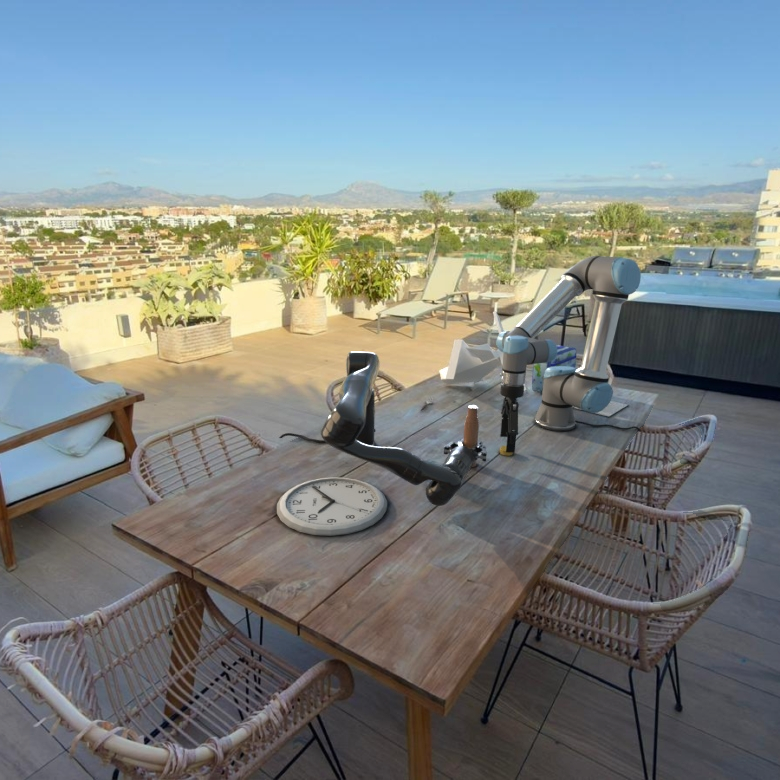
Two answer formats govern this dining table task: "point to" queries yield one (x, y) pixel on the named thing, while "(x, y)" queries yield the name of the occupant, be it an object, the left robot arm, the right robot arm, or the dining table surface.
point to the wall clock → (331, 506)
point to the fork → (427, 403)
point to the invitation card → (611, 408)
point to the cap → (504, 451)
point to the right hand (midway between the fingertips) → (507, 444)
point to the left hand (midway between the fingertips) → (472, 442)
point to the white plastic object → (473, 361)
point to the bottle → (471, 428)
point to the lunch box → (553, 365)
